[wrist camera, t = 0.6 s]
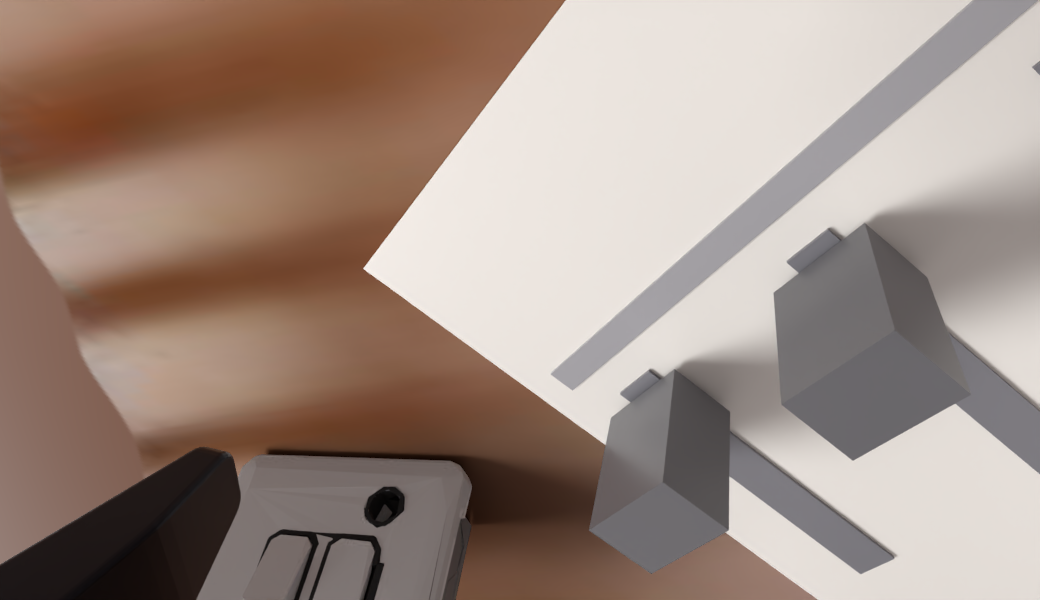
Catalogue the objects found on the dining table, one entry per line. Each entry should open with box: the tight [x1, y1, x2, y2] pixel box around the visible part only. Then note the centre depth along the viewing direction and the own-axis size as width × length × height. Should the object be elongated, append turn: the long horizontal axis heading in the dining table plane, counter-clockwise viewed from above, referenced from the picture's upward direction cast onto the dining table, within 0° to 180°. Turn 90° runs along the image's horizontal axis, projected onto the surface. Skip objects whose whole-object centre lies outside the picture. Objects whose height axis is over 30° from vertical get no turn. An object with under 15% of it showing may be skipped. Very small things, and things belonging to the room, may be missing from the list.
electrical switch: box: [197, 454, 472, 600], centre depth 27 cm, size 9×5×9 cm, turn 101°
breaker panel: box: [364, 0, 1040, 600], centre depth 19 cm, size 23×17×2 cm
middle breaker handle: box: [773, 223, 971, 461], centre depth 16 cm, size 2×3×4 cm
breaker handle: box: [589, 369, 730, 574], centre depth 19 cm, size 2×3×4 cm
